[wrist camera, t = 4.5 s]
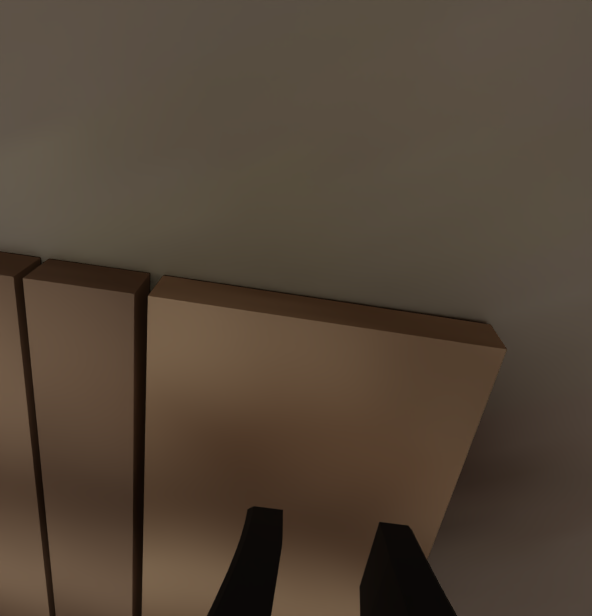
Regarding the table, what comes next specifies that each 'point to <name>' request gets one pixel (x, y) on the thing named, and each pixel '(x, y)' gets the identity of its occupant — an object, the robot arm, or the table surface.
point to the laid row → (71, 437)
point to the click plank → (298, 436)
